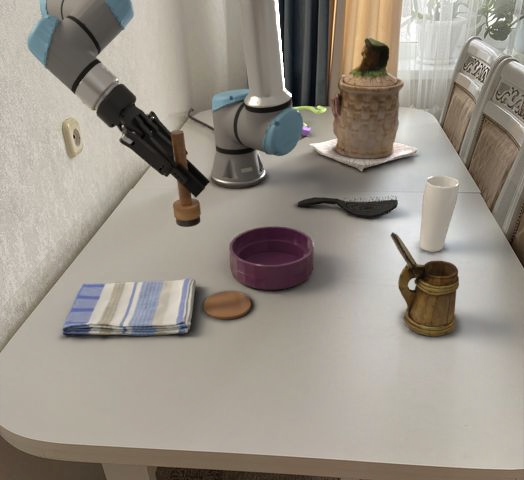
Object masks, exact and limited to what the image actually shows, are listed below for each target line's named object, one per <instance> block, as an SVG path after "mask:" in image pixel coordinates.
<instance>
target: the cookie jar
mask: <svg viewBox="0 0 524 480" xmlns="http://www.w3.org/2000/svg"><path fill="white" fill-rule="evenodd" d="M360 55H361V56H362V59H361V62H360V64H359V65H358V66H356V67H355V68H353V69H352V70H351V71H349V73H347V75H345V74H342V75H341V76H340V77H339V80H338V83H337V88H338V90H339V93H336V94H335V95H334V97H331V98H330V100H329V106H330V108H331V113H332V116H333V119H334V120H333V124H332V125H333V127H332V128H333V129H332V131H333V134H334V135H335V137H336V138H333V139H330V140H326V141H322V142H315V143H310V144H309V146H310V147H312V148H313V149H314V150H315V152H317V153H318V154H319V155H321V156H324V157H326V158H329V159H332V160H335V161H337V162H340V163H342V164H345V165H347V166H350V167H352V168H355V169H357V170H358V171H360V172H363V171H364V169H367V168H369V167H374V166H379V165H381V164H385V163H388V162H391V161H395V160H399V159H403V158H408V157H409V158H410V157H414V156H416V154H417V152H418V148H417V147H414V146H410V145H407V144H402V143H400V142H396V141H395V140H396V138H397V133H398V129H399V126H400V120H399V118H400V117H399V116H400V91H401V90H402V89H403V88H404V86H405V81H403V79H401V78H398V77H395V76H394V75H392V74H391V73H389V72H388V71H387V67H388V63H389V59H390V47H389V46H388V45H387V44H386V43H385V42H381V41H380V40H377V39H374V38H372V37H366V38H365V39H364V46H363V48H362V50H361V53H360Z"/></svg>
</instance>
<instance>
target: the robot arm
mask: <svg viewBox="0 0 524 480" xmlns="http://www.w3.org/2000/svg"><path fill="white" fill-rule="evenodd" d="M39 1H40V2H38V4H39V3H40V10H39V12H40V11H41V14H40V16H41V15H42V16H41V18H40V19H38V21H36V22H35V24H34V25H33V26H32V27H31V29H30V31H29V33H28V36H27V39H26V44H27V49H28V51H29V52H30V53H31V54H32V55H33V56H34V57H35V58H36V60H38V61H39V62H40V64H41V65H42V66H43V68H44V69H46V70H48V71H49V72H50V73H51V74H52V75H53V76H54V77H55V78H56V79H58V81H60V82H61V83H62V84H63V85H64V87H67V89H69V91H71V92H72V94H74V95H75V96H76V97H77V98H78V99H79V100H80V101H81V102H82V104H83V105H85V106H87V107H88V109H90V110H91V111H93V112H94V111H96V112H95V114H96V117H97V118H99V119H100V120H101V121H102V122H103V123H104V124H105V125H106V126H107V127H108V128H110V129H112V128H115V127H116V128H118V131H119V132H121V136H120V138H119V140H118V141H119V143H120V144H122V145H123V146H125V147H127V148H128V149H130V150H131V151H132V152H134V153H135V154H136V155H137V156H138V157H139V158H141V159H142V160H143V161H144V162H146V163H147V164H148V165H149V166H150V167H151V168H153V169H154V170H155V171H156V172H158V173H159V175H161V176H164V177H166V178H167V177H169V176H170V175H171V176H172V177H173V178H174V179H176V181H177V180H178V181H179V182H180V183H181V184H182V185H183V186H184V187H185V188H186V189H187V190H188V191H189V192H190V193H191V196H193V197H194V198H198V197H199V196H200V195H201V193H202V192H203V191H204V190H205V189H206V187H207V186H208V185H209V184H210V183H211V181H212V183H214V184H215V185H217V186H219V187H223V188H226V189H227V188H228V189H242V188H244V189H245V188H251V187H253V186H256V185H259V184H261V183H262V182H264V181H265V179H266V170H265V166H264V164H263V161H262V158H261V156H260V155H261V154H260V152H262V153H265V155H268V156H276V157H283V156H286V155H288V154H289V153H291V152H292V151H293V150H294V149H295V148H296V146H298V145H297V144H298V142H299V141H300V140H301V137H302V135H301V134H302V130H303V123H304V119H303V116H302V113H301V112H300V111H299V110H297V109H294V108H295V107H293V99H292V97H293V96H292V93H291V91H289V90H288V89H287V88H286V87H285V77H284V75H285V74H284V62H283V51H282V50H283V49H282V37H281V24H280V11H279V0H237V2H238V9H239V19H240V26H241V33H242V42H243V43H242V44H243V51H244V59H245V66H246V74H247V75H246V77H247V84H248V88H240V89H239V88H237V89H231V90H227V91H222V92H218V93H217V94H215V95H214V96H213V97H212V99H211V105H212V107H211V113H212V123H213V126H211V125H209V124H207V123H205V122H203V121H201V120H199V119H197V118H195V117H193V116H191V113H192V112H195V109H194V108H193V107H191V108H190V109H189V110H188V112H187V117H188V118H189V119H191V120H193V121H194V122H196V123H198V124H200V125H203V126H204V127H206V128H208V129H210V130H211V131H213V134H214V144H215V155H214V159H213V164H212V168H211V172H210V174H211V175H210V176H211V181H210V179H209V178H208V177H206V176H205V175H204V174H203V173H202V172H201V171H200V170H199V168H197V167H196V166H195V165H194V164H193V163H192V162H191V161H190V160H189V159H188V158H187V165H188V170H187V169H186V168H185V167H184V166H183V165H182V164H181V163H180V164H179V165H178V166H177V163H176V162H175V161H174V154H173V147H172V139H171V132H172V131H170V130H169V129H168V128H167V127H166V126H165V124H164V123H163V122H162V121H161V120H160V118H159V117H158V116H157V114H156V113H155V111H153V110H150V112H149V113H145V111H144V110H142V109H141V108H139V107H137V106H136V102H137V96H136V94H134V93H133V91H131V90H130V89H129V88H128V87H127V86H126V85H125V84H124V83H120V82H119V81H120V80H119V78H118V77H117V76H116V75H115V74H114V73H113V72H112V71H111V70H110V69H109V68H108V67H107V66H106V65H104V64H103V62H102V61H101V60H100V59H98V56H99V55H100V54H101V52H102V51H104V50H105V48H107V47H108V46H109V45H110V44H111V43H112V42H113V40H114V39H116V37H117V36H118V35H119V34H120V33H121V32H122V31H124V30H126V29H125V28H126V27H127V26H128V24H129V23H130V22H131V21H132V20H133V18H134V16H135V9H134V5H133V3H132V1H131V0H39ZM292 107H293V108H292ZM259 151H260V152H259ZM188 154H189V152H188V151H187V150H186V156H188Z"/></svg>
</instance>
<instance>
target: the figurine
mask: <svg viewBox="0 0 524 480" xmlns="http://www.w3.org/2000/svg"><path fill="white" fill-rule="evenodd" d="M292 108H294V109H297V110H298V111H304V110H305V111H311V112H312V113H314V114H316V115H320V114H323V113H325V112H326V111H327V108H326V107H324V106H322V105H317V106H316V108H317V109H316V108H314V106H311V105H310V106H309V105H303V106H302V105H301V106H296V107H293V106H292ZM311 130H312V127H310V125H308V124H306V122H303V130H302V134H301V136H304V137H308V136H309V135H310V132H311Z"/></svg>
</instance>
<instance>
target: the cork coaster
mask: <svg viewBox="0 0 524 480" xmlns="http://www.w3.org/2000/svg"><path fill="white" fill-rule="evenodd" d="M251 307H252V302H251V299H250V298H249V296H248V295H246V294H244V293H242V292H240V291H233V290H226V291H225V290H224V291H219V292H216V293H213V294H211V295H210V296H208V297H207V298H206V299H205V301H204V304H203V308H204V312H205V313H206V314H207V315H208V316H209V317H211V318H214V319H217V320H223V321H224V320H225V321H226V320H235V319H238V318H241V317H243V316H245V315H246V314H247V313H248V312H250V310H251Z"/></svg>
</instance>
